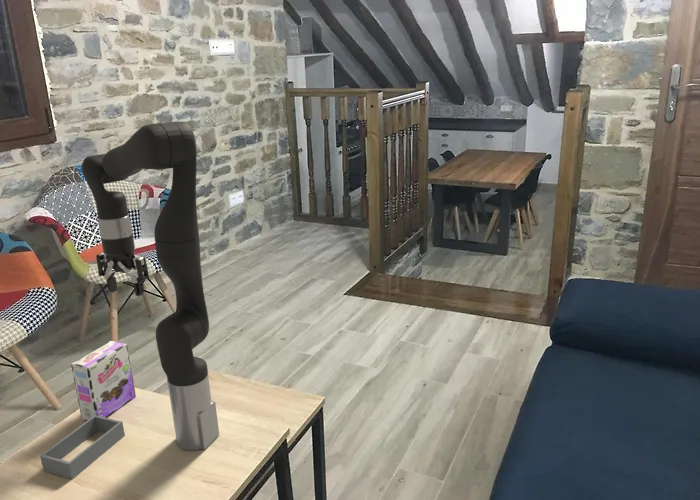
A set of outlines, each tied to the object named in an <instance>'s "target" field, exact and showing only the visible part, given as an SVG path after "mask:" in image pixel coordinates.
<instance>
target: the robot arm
mask: <svg viewBox="0 0 700 500" xmlns="http://www.w3.org/2000/svg"><path fill="white" fill-rule="evenodd" d="M197 153H198V152H197V142H196V137H195V134H194V131H193V129H192V127H191V126H190V124H188V123H187V122H186V121H170V122H155V123H149V124H146V125H143V126H141V127H140V128H139V129H138V130H136V131H135V132H134V134H133V135H132V136H131V137H130V138H129V139H127V140H126V142H125V143H123V144H121V145H119V146H117V147H114V148H112V149H110V150H109V151H107V152H106V153H102V154H94V155H89V156H86V157H85V158H84V159H83V160H82V163H81V172H82V173H81V174H82V175H83V177H84V180H85V182H86V183H87V185H88V187H89V189H90V192H91V195H92V196H93V199H94V202H95V206H96V210H97V211H96V212H97V215H98V216H97V217H98V229H99V234H100V240H101V245H102V252H100V253H98V254H96V264H97V266H96V267H97V272H98V276H99V277H104V279H105V280H106V285H107V290H109V291H108V292H109V293H114V292H117V291H118V284H117V280H116V279H117V278H116V276H115V275H116V274H117V273H121V274H126V276H127V277H129V278H130V279H131V280H132V281H133V288H134V293H135V297H141V296H143V294H144V293H145V287H144V281H145V280H148V279H149V278H150V275H149V270H148V265H147V264H148V263H147V260H146V257H145V256H144V255H143V256H140V257H136V256H135V249H136V245H135V240H134V233H133V226H132V222H131V219H130V215H129V209H128V202H127V197H126V195H125V193H123V192H122V191H118V190H107V188H106V187H105V185H106V184H110V183H115V182H116V183H117V182H121V181H126V180H127V179H128V178H130V177H132V176H134V175H137V174H138V173H140V172H141V171H142V170H154V171H160V170H169V169H172V180H171V181H172V183H171V189H170V192H169V193H168V197H167V199H166V201H165V203H164V205H163V207H162V209H161V211H160V214H159V215H158V218H157V219H156V222H155V226H154V233H153V234H154V243H155V246H154V247H155V253H156V259H157V262H158V264H159V266H160V267H161V269H162V271H163V272H164V274H166V276H167V277H168V279H169V280H170V281H171V282H172V285H173V288H174V292H175V300H176V308H175V311H174V312H173V313H171V314H170V315H168V316H166V317H165V318H163V319H162V320H161V321H159V322H158V324H157V326H156V329H155V340H156V347H157V351H158V355H159V356H158V357H159V360H160V364H161V368H162V370H163V372H164V374H165V376H166V379H167V385H168V386H167V387H168V391H169V392H168V393H169V400H170V407H171V414H172V420H173V427H174V434H175V438H176V445H177V446H178V447H179V448H180V449H182V450H186V451H196V450H206V449H207V448H208V447H209V446H210V445H211V444H212V443H213V442H214V441H215V440H216V439H217V438H218V437H219V436H220V429H219V421H218V412H217V407H216V405H217V404H216V402H215V400H212V394H211V393H212V392H211V387H210V379H209V371H208V364H207V361H205V359H203V358H202V357H198V356H194V353H193V352H194V351H193V350H194V349H195V348H196V347H197V346H199V345H200V344H202V343H203V342H204V341H205V340H206V338H207V337H208V335H209V332H210V331H209V330H210V322H209V314H208V309H207V305H206V304H207V302H206V299H205V294H204V285H203V275H202V263H201V243H200V232H199V224H198V210H197V209H198V208H197V160H198V159H197ZM104 184H105V185H104Z"/></svg>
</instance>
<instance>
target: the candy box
mask: <svg viewBox="0 0 700 500" xmlns="http://www.w3.org/2000/svg"><path fill="white" fill-rule="evenodd" d="M70 366H71V370H72V371H71V372H72V376H73V381H74V386H75V391H76V396H77V400H78V401H77V402H78V406H79V413H80V416H81V420H84V421H85V422H86V421H88V420H89V419H90V418H92V417H93V416H94V415H97V416H101V417H105V418H109V417H111V415H113V413H115V412H117V411H118V410H120V409H121V408H122V407H124V406H125V405H127V404H128V403H130V402H131V401H132V400H134V399H135V398H136V397H137V395H136V389H135V384H134V383H135V382H134V377H133V372H132V366H131V359H130V355H129V349H128V344H127V343H123V342H120V341H119V342H118V341H114V340H110V341H108V342H107V343H106V344H104V345H102V346H100V347H99V348H97V349H95V350H93V351H91V352H89V353H88V354H86V355H85V356H82V357H81V358H80V359H77V360H76V361H73V362H71V364H70Z"/></svg>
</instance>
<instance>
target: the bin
mask: <svg viewBox="0 0 700 500" xmlns="http://www.w3.org/2000/svg"><path fill="white" fill-rule="evenodd" d="M98 431H99V432H103V433H104V434H103V435H101V436H99V438H97V439H96V440H94V442H92V443H91V444H90V445H89V446H87V447H86V448H85V449H84V450H82V451H81V452H80V453H78V454H77V455H76V456H75V457H74V458H72V459H71V460H70V461H67V460H64V459H63V458H65V457H66V456H67V455H68V454H70V453H71V452H72V451H73V450H75V449H76V448H77V447H79V446H80V445H81V444H82V443H84V442H85V441H87V439H89V438H90V437H91V436H93V435H94V434H95V433H96V432H98ZM124 437H125V428H124V423H123V420H122V421H121V420H117V419H113V418H109V417H107V418H105V417H101V416H97V415H94V416H93V417H92V418H90V419H89V420H88V421H86V420H85V422H84V423H82V424H81V425H80V426H78V427H76V429H74V430H73V431H71V432H70V433H69V434H68V435H66V436H65V437H63V438H62V439H61V440H59V441H58V442H57V443H55V444H54V445H53V446H52V447H50V448H49V449H47V450H46V451H44V452H43V453H42V454H41V455H39V458H40V461H41V466H42V469H43V470H42V471H44V472H46V473H50V474H53V475H57V476H60V477H64V478H67V479H71V480H73V479H75V478H76V477H77V476H78V475H80V474H81V473H82V472H83V471H84V470H85V469H87V468H88V467H90V465H91V464H92V463H94V462H95V461H97V459H99V458H100V457H101V456H103V455H104V454H105V453H106V452H107V451H108V450H109V449H110V448H112V447H113V446H114V445H116V444H117V443H118V442H119V441H121V440H122V439H123V438H124Z"/></svg>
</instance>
